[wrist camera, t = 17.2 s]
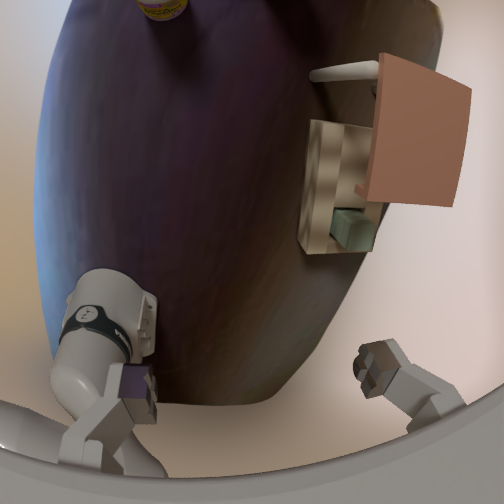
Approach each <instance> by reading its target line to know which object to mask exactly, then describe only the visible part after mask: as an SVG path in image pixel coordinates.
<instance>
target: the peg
mask: <svg viewBox="0 0 504 504" xmlns="http://www.w3.org/2000/svg"><path fill="white" fill-rule="evenodd" d="M375 229H376V225H375V224H374V223H373V222H372V221H370V220H369V219H368V218H367V217H366V216H364V215H363V214H362V213H361V212H360V211H358V210H357V209H356V208H349V207H334V209H333V215H332V221H331V227H330V232H331V234H332V235H333V236H334V237H335V238H336V239H337V240H338V242H339V243H340V244H341V245H342V246H343V247H344V249H345V250H346V251H367V250H370V249H371V245H372V241H373V237H374V233H375Z"/></svg>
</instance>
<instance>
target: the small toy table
mask: <svg viewBox="0 0 504 504" xmlns="http://www.w3.org/2000/svg"><path fill="white" fill-rule="evenodd" d="M309 79H310V80H311V81H312V82H325V81H339V80H358V79H378V82H377V83H374V84H373V85H372V87H371V89H372V91H373V93H375V94H376V105H375V115H374V124H373V132H372V140H371V147H370V154H369V161H368V168H367V174H366V180H365V185H364V184H355V190H354V192H355V193H356V194H357V195H359V196H360V197H362V198H363V199H364V200H366V201H372V202H390V203H405V204H419V205H432V206H443V207H452V206H453V202H454V198H455V194H456V190H457V185H458V181H459V176H460V172H461V167H462V161H463V156H464V150H465V144H466V138H467V131H468V123H469V115H470V105H471V92H472V89H471V88H469V87H467V86H465V85H463V84H461V83H459V82H457V81H455V80H453V79H450V78H448V77H446V76H444V75H442V74H439V73H437V72H435V71H433V70H430V69H428V68H425V67H423V66H420V65H418V64H415V63H413V62H410V61H407V60H404V59H402V58H399V57H396V56H393V55H390V54H387V53H379V63H378V62H376V61H365V62H358V63H351V64H345V65H338V66H333V67H327V68H322V69H317V70H312V71H311V72H310V73H309Z"/></svg>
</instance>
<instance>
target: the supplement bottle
mask: <svg viewBox="0 0 504 504" xmlns="http://www.w3.org/2000/svg"><path fill="white" fill-rule="evenodd" d="M136 1H137V3H138V4H139V6H140V8H141V9H142V11H143V12H144V14H145V15H146V16H147V17H149V18H151V19H153V20H157V21H165V20H170V19H172V18H174V17H176V16H178V15H179V14H181V13H182V12H183V10H184V9H185V8H186V6H187V3H188V0H136Z"/></svg>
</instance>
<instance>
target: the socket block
mask: <svg viewBox="0 0 504 504" xmlns="http://www.w3.org/2000/svg"><path fill="white" fill-rule="evenodd" d="M372 132H373V128H369V127H363V126H357V125H351V124H344V123H337V122H330V121H322V120H313V119H309V120H308V131H307V142H306V152H305V162H304V172H303V181H302V190H301V199H300V208H299V216H298V224H297V232H296V238H297V240H298V241H299V243H300V244H301V246H302V247H303V249H304V251H305V252H306V254H325V253H352V252H372V250H373V246H374V242H375V238H376V234H377V229H378V225H379V221H380V216H381V212H382V207H383V202H372V201H366V200H364V199H363V198H362V197H360V196H359V195H357V194H356V193H355V192H354V190H355V184H364V185H365V180H366V174H367V168H368V161H369V154H370V147H371V140H372ZM334 207H349V208H356V209H357V210H358V211H360V212H361V213H362V214H363V215H364V216H366V217H367V218H368V219H369V220H370V221H372V222H373V223H374V224H375V225H376V229H375V233H374V237H373V241H372V245H371V249H370V250H367V251H346V250H345V249H344V247H343V246H342V245H341V244H340V243H339V242H338V240H337V239H336V238H335V237H334V236H333V235H332V234H331V232H330V227H331V221H332V215H333V209H334Z"/></svg>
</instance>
